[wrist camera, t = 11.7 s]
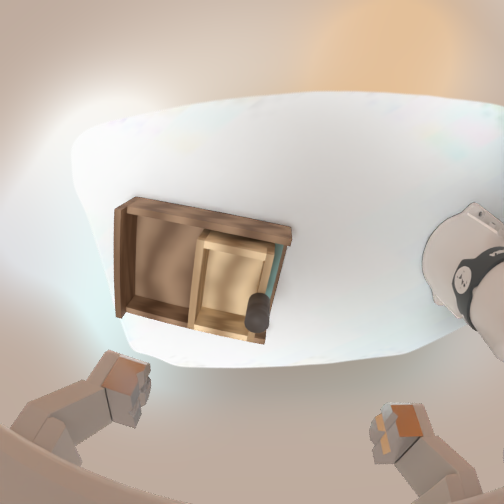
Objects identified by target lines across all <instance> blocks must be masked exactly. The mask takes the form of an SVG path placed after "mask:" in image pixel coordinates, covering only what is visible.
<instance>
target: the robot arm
mask: <svg viewBox="0 0 504 504" xmlns="http://www.w3.org/2000/svg"><path fill="white" fill-rule="evenodd" d="M479 212H480V215H479ZM422 268H423V274H424V277H425V279H426V281H427V283H428V284H429V286H430V287H431V289H432V293H433V300H434V302H435V303H436V304H437V305H439V306H443V305H445V306H446V307H447V308H448V309H449V310H450V311H451V312H452V313H453V315H454V316H455V317H456V318H458V319H460V318H463V319H464V320H465V321H466V323H467V324H469V326H471V327H472V328H473V329H474V330H475V331H478V332H479V334H480V335H481V336H482V338H483V339H484V341H485V342H486V343H487V345H488V346H489V348H490V349H491V351H492V352H493V354H494V355H495V356H496V358H497V359H499V360H500V361H502V362H504V224H503V223H502V222H501V221H500V220H498V219H497V218H496V217H495V216H493V215H492V214H491V213H490V212H488V211H487V210H486V209H484V208H483V207H482V206H480V205H479V204H478V203H472V204H470V205H469V206H468V207H467V208H466V209H465V210H464V211H463V212H462V213H460V214H458V215H455V216H453V217H451V218H449V219H447V220H446V221H444V222H443V223H442V224H441V225H439V226H438V227H437V229H436V230H435V231H434V232H433V234H432V235H431V237H430V238H429V240H428V242H427V244H426V247H425V250H424V254H423V261H422ZM150 371H151V369H150V364H149V363H147V362H144V361H141V360H138V359H135V358H132V357H129V356H126V355H123V354H120V353H117V352H114V351H111V350H108V351H106V352H105V353H104V354H103V356H102V358H101V359H100V360H99V362H98V364H97V365H96V367H95V368H94V370H93V371H92V373H91V374H90V376H89V377H88V379H87V380H86V381H85V380H80V381H78V382H76V383H73V384H71V385H69V386H66V387H64V388H62V389H59V390H57V391H54V392H52V393H50V394H47V395H45V396H42V397H40V398H38V399H35V400H33V401H30V402H28V403H27V404H26V406H25V407H24V409H23V410H22V411H21V413H20V414H19V416H18V417H17V419H16V420H15V422H14V423H13V424H12V426H11V427H10V429H9V428H8V427H6V426H5V425H3V424H2V423H0V504H191V503H186V502H182V501H178V500H174V499H170V498H166V497H163V496H159V495H156V494H152V493H149V492H146V491H143V490H139V489H137V488H134V487H130V486H127V485H125V484H122V483H119V482H116V481H114V480H111V479H108V478H106V477H103V476H101V475H99V474H96V473H93V472H91V471H89V470H86V469H84V468H82V467H80V466H81V464H82V460H81V457H80V455H79V454H78V451H77V449H76V447H75V446H76V445H78V444H79V443H81V442H83V441H84V440H86V439H87V438H89V437H90V436H92V435H94V434H95V433H96V432H98V431H99V430H101V429H103V428H104V427H106V426H107V425H109V424H110V423H112V421H114V422H116V423H119V424H123V425H126V426H129V427H132V428H136V426H137V423H138V421H139V419H140V416H141V407H142V406H144V405H145V404H146V402H147V400H148V397H149V393H150V389H151V379H150V378H149V377H148V375H149V373H150ZM369 435H370V440H371V441H372V442H373V443H374V445H375V446H374V448H373V449H372V452H373V457H374V462H375V464H394V465H395V467H396V468H397V469H398V471H399V472H400V473H401V474H402V476H403V477H404V478H405V480H406V481H407V482H408V484H409V485H410V486H411V487H412V489H413V490H414V491H415V493H416V494H417V495H418V496H419V498H418V499H417V500H415V501H414V502H412V503H411V504H504V487H501V488H498V489H495V490H493V491H490V492H487V493H483V492H482V489H481V486H480V483H479V480H478V477H477V474H476V471H475V469H474V468H473V467H472V466H471V465H470V464H469V463H468V462H467V461H466V460H464V459H463V458H462V457H461V456H460V455H459V454H458V453H457V452H456V451H454V450H453V449H452V448H451V447H450V446H449V445H448V444H447V443H445V442H444V441H443V440H442V439H441V438H440V437H439V436H435V435H434V432H433V429H432V426H431V423H430V420H429V418H428V415H427V412H426V410H425V407H424V405H423V404H422V403H410V404H409V403H386V404H384V405H383V407H382V408H381V414H379V415H377V416H376V417H375V418H374V419H373V421H372V422H371V426H370V430H369ZM503 461H504V450H503Z"/></svg>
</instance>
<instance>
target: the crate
mask: <svg viewBox="0 0 504 504" xmlns="http://www.w3.org/2000/svg"><path fill="white" fill-rule="evenodd" d="M274 253H275V243H273V242H268V241H263V240H258V239H253V238H249V237H244V236H239V235H234V234H229V233H224V232H219V231H215V230H210V229H205V228H204V230H203V231H202V233H201V234H200V236H199V237H198V239H197V243H196V251H195V259H194V268H193V276H192V285H191V295H190V305H189V315H188V325H187V328H189V329H193V330H198V331H202V332H206V333H211V334H215V335H220V336H224V337H229V338H233V339H238V340H243V341H248V342H253V341H254V337H255V333H261V332H264V331H265V330H266V329H267V328H268V326H269V315H270V299H269V297H268V296H267V295H266V294H265V292H266V288H267V284H268V280H269V276H270V272H271V267H272V263H273V259H274Z"/></svg>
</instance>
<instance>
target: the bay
mask: <svg viewBox="0 0 504 504" xmlns="http://www.w3.org/2000/svg"><path fill="white" fill-rule="evenodd" d="M204 228H205V229H210V230H215V231H219V232H224V233H229V234H234V235H239V236H244V237H249V238H253V239H258V240H263V241H268V242H273V243H275V253H274V259H273V263H272V267H271V272H270V276H269V280H268V284H267V288H266V292H265V294H266V295H267V296H268V297H269V299H270V310H271V307H272V303H273V299H274V295H275V291H276V288H277V284H278V280H279V276H280V272H281V268H282V264H283V260H284V256H285V252H286V248H287V246H290V245H291V241H292V233H291V227H288V226H284V225H279V224H274V223H270V222H265V221H260V220H255V219H250V218H245V217H240V216H236V215H231V214H226V213H220V212H215V211H210V210H205V209H200V208H195V207H190V206H184V205H179V204H174V203H168V202H163V201H157V200H152V199H146V198H140V197H134V198H132V199H131V200H129V201H127V202H126V203H124V204H122V205H121V206H119V207H117V208H116V209H115V211H114V290H115V311H116V317H118V318H122V317H123V316H124V314H125V313H126V312H128V313H132V314H135V315H139V316H143V317H146V318H150V319H154V320H158V321H161V322H165V323H169V324H173V325H177V326H181V327H185V328H187V325H188V315H189V305H190V295H191V285H192V276H193V268H194V259H195V251H196V243H197V239H198V237H199V236H200V234H201V233H202V231H203V230H204ZM265 338H266V330H265V331H264V332H261V333H255V337H254V341H253V343H259V344H264V343H265Z"/></svg>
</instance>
